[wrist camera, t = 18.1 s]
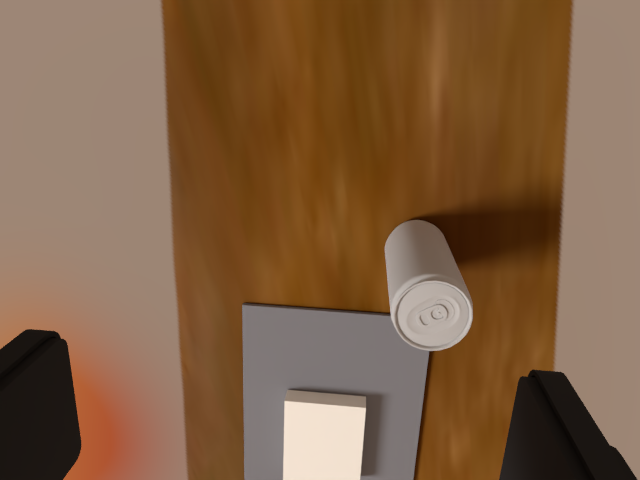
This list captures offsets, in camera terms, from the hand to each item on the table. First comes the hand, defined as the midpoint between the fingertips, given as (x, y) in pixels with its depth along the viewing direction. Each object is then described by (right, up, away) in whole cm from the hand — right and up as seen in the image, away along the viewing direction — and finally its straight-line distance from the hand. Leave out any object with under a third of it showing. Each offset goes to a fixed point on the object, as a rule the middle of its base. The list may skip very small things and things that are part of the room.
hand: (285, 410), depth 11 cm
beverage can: (+8, +3, +31) cm, 32 cm away
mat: (+2, -12, +36) cm, 38 cm away
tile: (+1, -10, +34) cm, 36 cm away
